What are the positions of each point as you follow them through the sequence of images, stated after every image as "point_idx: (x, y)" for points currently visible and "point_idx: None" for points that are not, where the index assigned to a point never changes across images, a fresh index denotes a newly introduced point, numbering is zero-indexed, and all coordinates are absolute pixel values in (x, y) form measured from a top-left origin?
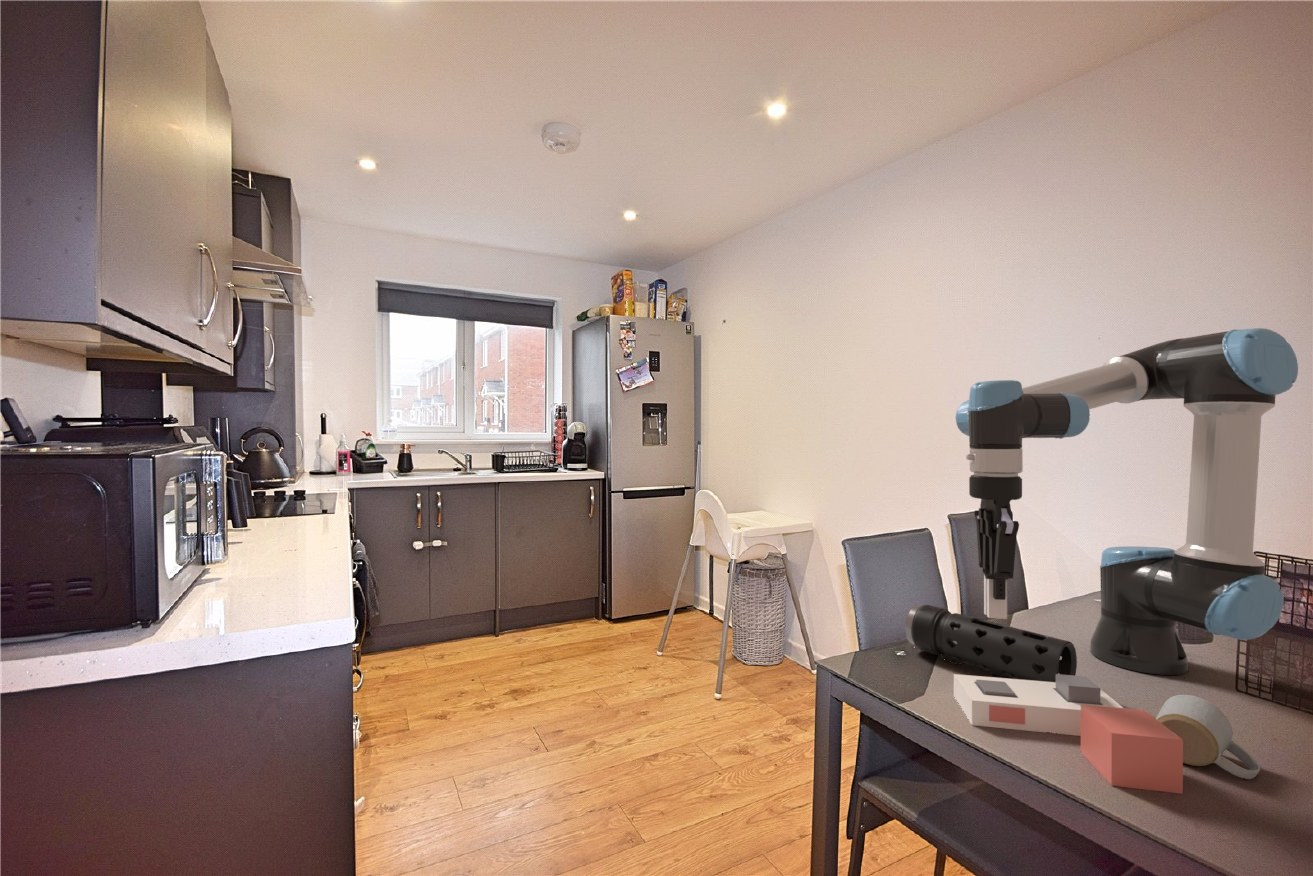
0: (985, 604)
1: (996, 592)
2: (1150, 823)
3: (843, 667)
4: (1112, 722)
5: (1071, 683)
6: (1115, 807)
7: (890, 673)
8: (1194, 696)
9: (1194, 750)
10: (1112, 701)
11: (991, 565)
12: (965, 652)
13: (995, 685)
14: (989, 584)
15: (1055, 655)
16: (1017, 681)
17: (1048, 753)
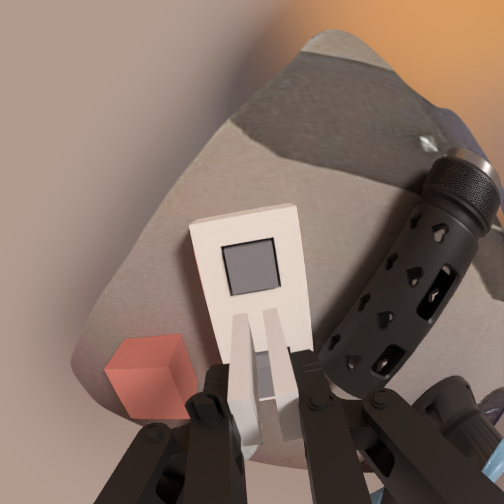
0: (266, 325)
1: (205, 384)
2: (85, 344)
3: (336, 48)
4: (132, 380)
5: (258, 374)
6: (91, 328)
7: (345, 113)
8: (245, 459)
9: None
10: (268, 397)
11: (199, 460)
12: (398, 239)
13: (255, 270)
14: (230, 384)
15: (334, 375)
16: (299, 305)
17: (160, 300)
